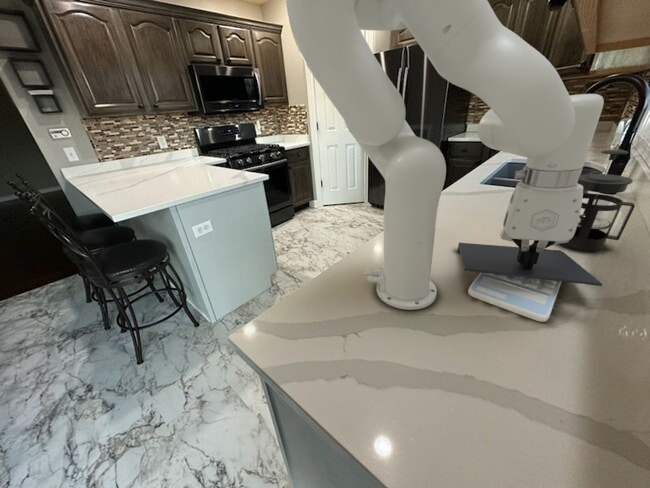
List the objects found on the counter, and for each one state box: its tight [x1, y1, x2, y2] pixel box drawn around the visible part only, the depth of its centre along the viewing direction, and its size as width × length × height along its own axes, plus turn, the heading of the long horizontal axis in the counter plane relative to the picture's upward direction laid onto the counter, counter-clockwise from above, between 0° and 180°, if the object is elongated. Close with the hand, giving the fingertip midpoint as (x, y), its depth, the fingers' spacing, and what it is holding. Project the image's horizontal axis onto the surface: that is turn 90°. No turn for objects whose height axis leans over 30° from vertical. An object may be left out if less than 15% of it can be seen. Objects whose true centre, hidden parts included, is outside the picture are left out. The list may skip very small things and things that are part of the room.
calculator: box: [467, 272, 562, 323], centre depth 55 cm, size 13×20×2 cm, turn 135°
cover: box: [458, 243, 603, 287], centre depth 57 cm, size 22×16×1 cm
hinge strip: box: [457, 242, 563, 253], centre depth 65 cm, size 22×1×2 cm, turn 68°
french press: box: [558, 149, 636, 253], centre depth 61 cm, size 12×9×23 cm
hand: (525, 265), depth 53 cm, fingers closed
